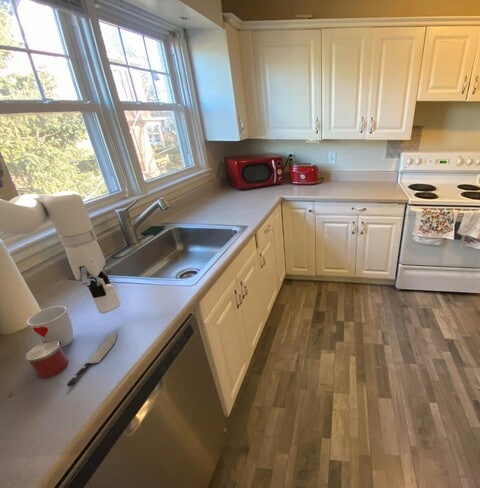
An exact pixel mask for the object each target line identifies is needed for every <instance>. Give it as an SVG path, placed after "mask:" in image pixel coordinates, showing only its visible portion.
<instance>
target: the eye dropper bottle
mask: <svg viewBox="0 0 480 488" xmlns="http://www.w3.org/2000/svg"><path fill="white" fill-rule="evenodd" d="M98 278H99V277H98ZM93 281H95V279H94V280H93ZM99 281H100V284H102V285H103V287H104V290H105V292H106V296H102V297H97V298H93V296H92V294H91V292H90V291H89V292H90V296H91V299H92V301H93V303H94V305H95V306H96V309H97V311H98V313H99V314H101V315H104V314H107V313H111V312H112V311H114V310H116V309H118V308H119V307H120V306H121V302H120V299H119V297H118V295H117V292H116V290H115V288H114V286H113V285H112V284H111V283H110V284H105V283H104V281H103V279H102V278H99Z"/></svg>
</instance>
